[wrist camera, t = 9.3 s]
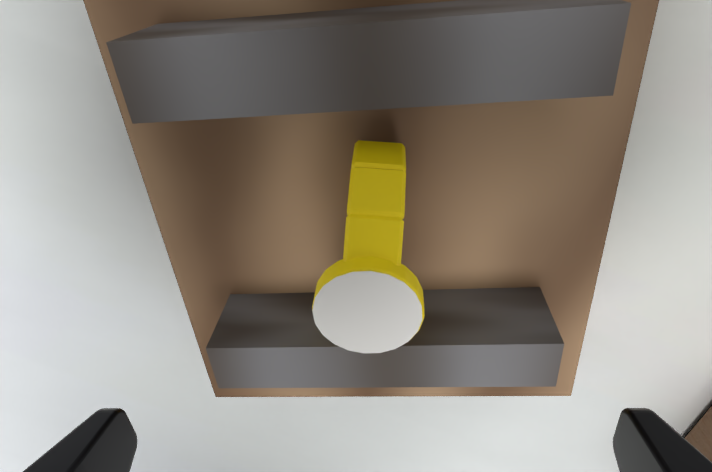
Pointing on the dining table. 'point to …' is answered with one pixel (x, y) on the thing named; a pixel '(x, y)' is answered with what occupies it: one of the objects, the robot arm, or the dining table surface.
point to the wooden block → (702, 435)
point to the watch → (371, 260)
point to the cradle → (423, 175)
